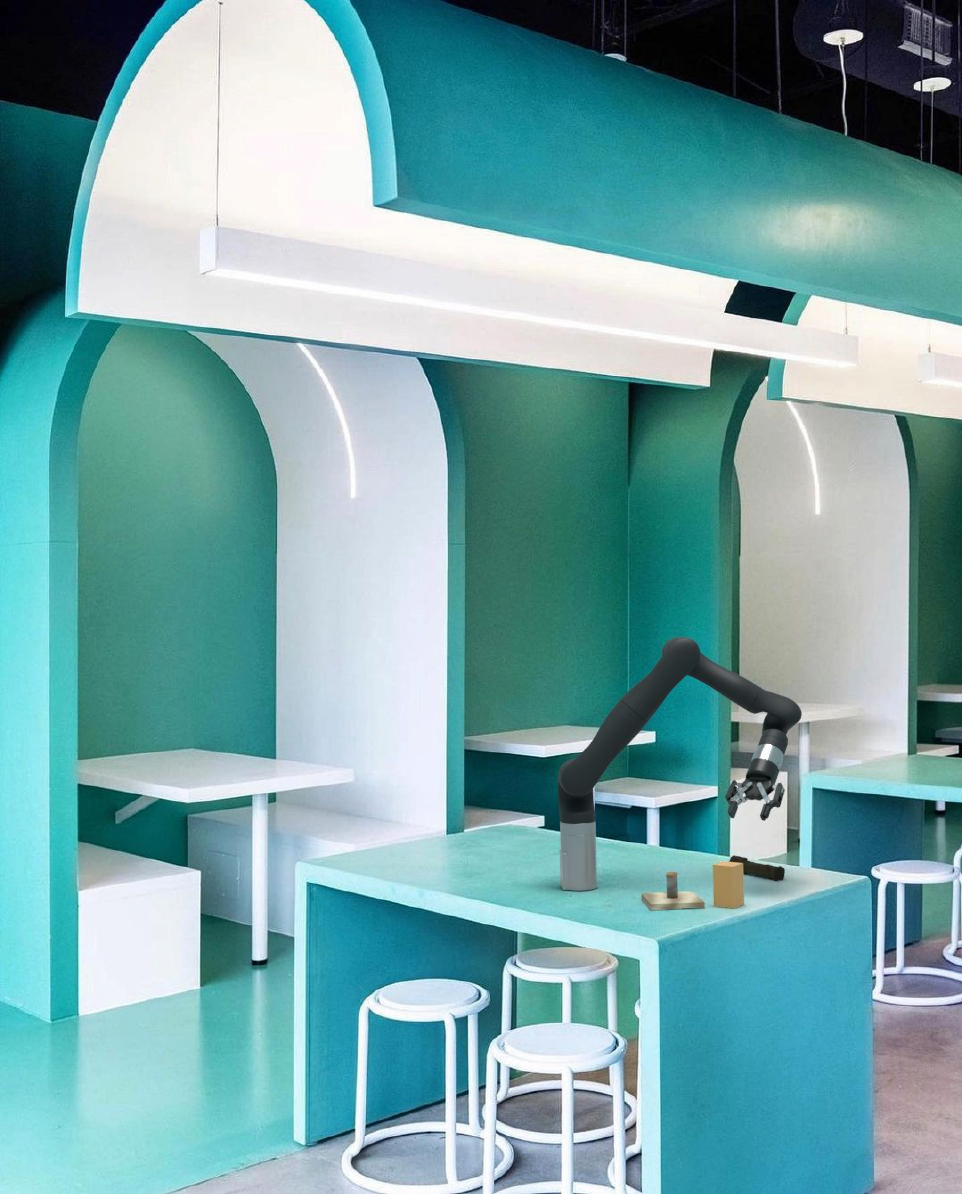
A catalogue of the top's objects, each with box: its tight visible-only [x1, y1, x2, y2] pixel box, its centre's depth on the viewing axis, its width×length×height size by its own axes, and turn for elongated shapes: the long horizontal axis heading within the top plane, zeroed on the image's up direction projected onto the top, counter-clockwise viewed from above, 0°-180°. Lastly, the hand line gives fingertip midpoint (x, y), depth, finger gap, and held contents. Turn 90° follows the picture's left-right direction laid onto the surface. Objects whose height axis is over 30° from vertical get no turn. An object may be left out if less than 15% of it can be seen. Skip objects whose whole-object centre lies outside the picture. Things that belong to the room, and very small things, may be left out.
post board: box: [641, 871, 706, 911], centre depth 338 cm, size 13×13×8 cm
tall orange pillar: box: [712, 860, 745, 909], centre depth 335 cm, size 5×5×10 cm
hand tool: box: [728, 854, 786, 882], centre depth 371 cm, size 19×4×5 cm, turn 32°
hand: (746, 817), depth 343 cm, fingers open, 8 cm apart
